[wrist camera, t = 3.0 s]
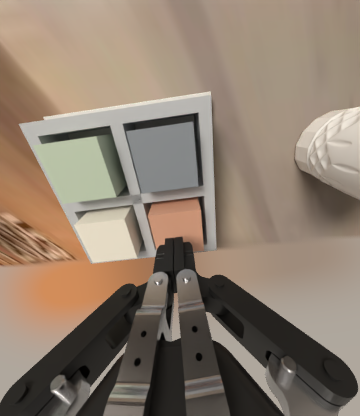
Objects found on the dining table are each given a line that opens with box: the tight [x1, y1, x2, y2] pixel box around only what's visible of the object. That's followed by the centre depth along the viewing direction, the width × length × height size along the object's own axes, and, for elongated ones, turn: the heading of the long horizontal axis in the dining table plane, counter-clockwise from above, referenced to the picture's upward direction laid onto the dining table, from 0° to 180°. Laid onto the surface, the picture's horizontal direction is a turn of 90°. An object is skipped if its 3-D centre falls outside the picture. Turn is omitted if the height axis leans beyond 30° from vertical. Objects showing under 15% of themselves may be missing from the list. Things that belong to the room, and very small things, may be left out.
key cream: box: [74, 205, 143, 263], centre depth 18 cm, size 5×5×3 cm
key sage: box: [33, 134, 127, 204], centre depth 14 cm, size 5×5×3 cm
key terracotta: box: [148, 197, 204, 252], centre depth 17 cm, size 5×5×3 cm
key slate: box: [126, 122, 198, 193], centre depth 14 cm, size 5×5×3 cm
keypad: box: [19, 91, 216, 264], centre depth 18 cm, size 16×16×5 cm
